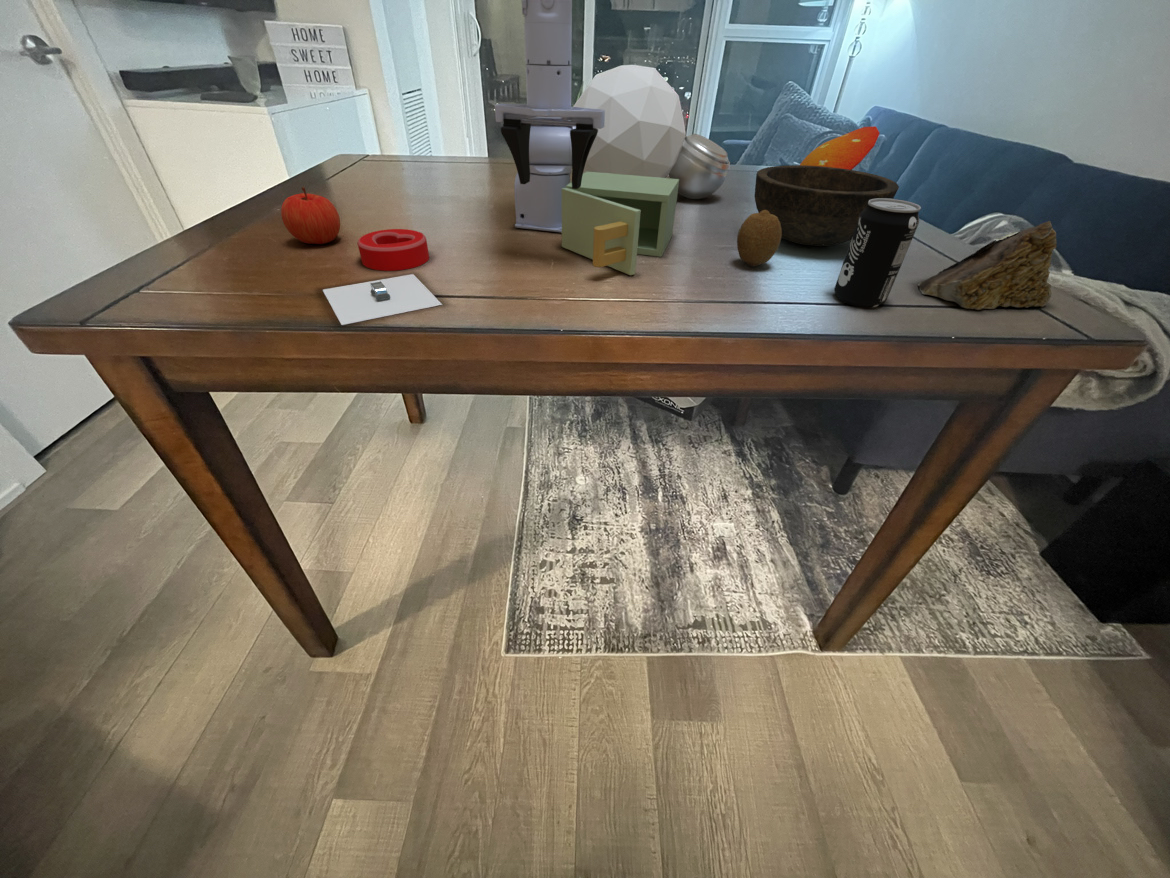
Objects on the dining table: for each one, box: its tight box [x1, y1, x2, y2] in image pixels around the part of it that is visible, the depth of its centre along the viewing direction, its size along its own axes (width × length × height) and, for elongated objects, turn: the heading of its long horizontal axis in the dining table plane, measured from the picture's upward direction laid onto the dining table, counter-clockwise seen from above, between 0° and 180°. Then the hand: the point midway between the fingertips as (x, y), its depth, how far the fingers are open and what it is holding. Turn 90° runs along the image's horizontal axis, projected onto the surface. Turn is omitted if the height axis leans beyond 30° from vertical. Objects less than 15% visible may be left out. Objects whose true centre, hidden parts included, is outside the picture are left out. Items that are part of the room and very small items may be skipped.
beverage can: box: [833, 198, 922, 309], centre depth 64 cm, size 7×7×12 cm
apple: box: [280, 186, 341, 245], centre depth 78 cm, size 8×8×8 cm
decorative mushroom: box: [799, 126, 880, 170], centre depth 102 cm, size 15×21×15 cm
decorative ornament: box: [357, 228, 430, 272], centre depth 74 cm, size 10×10×3 cm
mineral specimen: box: [917, 220, 1058, 311], centre depth 69 cm, size 12×13×15 cm
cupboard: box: [566, 172, 679, 258], centre depth 82 cm, size 12×16×9 cm
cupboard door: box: [561, 188, 641, 276], centre depth 73 cm, size 6×16×9 cm, turn 40°
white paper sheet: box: [322, 273, 443, 326], centre depth 64 cm, size 12×12×2 cm
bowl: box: [753, 164, 900, 247], centre depth 84 cm, size 22×22×10 cm
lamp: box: [572, 64, 731, 200], centre depth 104 cm, size 23×35×24 cm, turn 86°
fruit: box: [736, 210, 782, 267], centre depth 75 cm, size 6×6×8 cm
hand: (550, 185), depth 70 cm, fingers open, 7 cm apart
